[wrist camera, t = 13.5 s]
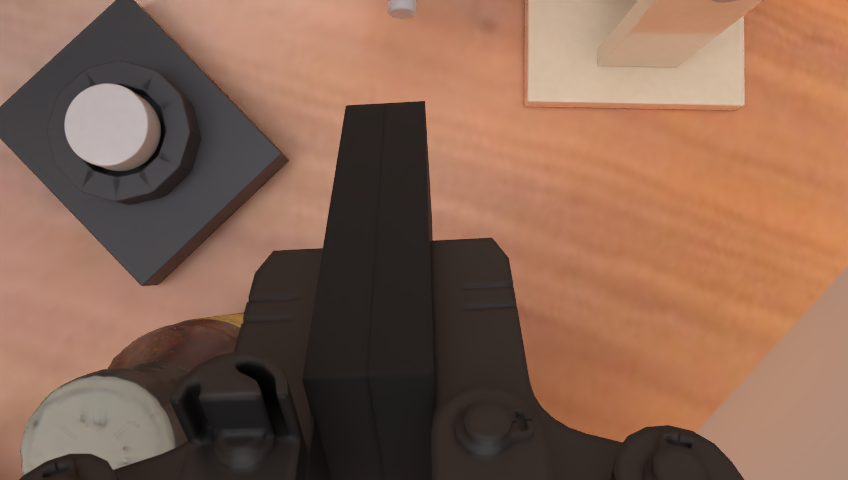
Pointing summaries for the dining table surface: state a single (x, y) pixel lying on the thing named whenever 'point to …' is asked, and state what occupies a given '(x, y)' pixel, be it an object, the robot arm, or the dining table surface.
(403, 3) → the lever
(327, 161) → the dining table surface
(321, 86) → the dining table surface
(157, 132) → the button
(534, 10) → the bracket
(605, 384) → the dining table surface
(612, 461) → the robot arm
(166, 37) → the panel
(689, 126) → the dining table surface
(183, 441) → the sauce bottle
